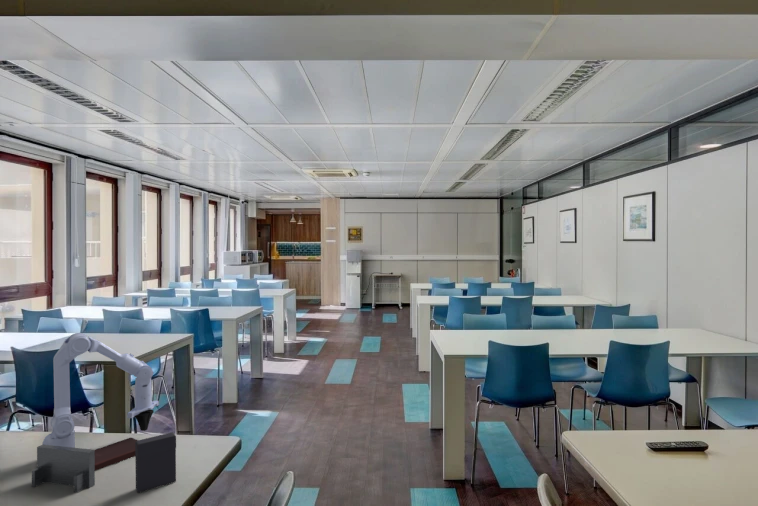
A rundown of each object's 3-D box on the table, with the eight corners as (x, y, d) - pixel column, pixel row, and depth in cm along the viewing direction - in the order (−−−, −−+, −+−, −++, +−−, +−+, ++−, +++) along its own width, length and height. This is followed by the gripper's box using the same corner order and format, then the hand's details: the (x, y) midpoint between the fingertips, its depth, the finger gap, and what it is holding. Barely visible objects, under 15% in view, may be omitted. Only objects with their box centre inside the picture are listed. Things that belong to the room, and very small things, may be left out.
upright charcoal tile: (173, 477, 147) (172, 431, 147) (176, 482, 143) (176, 435, 143) (135, 488, 140) (134, 440, 140) (137, 494, 136) (137, 444, 136)
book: (147, 453, 166) (147, 444, 166) (90, 474, 150) (90, 464, 150) (130, 445, 173) (130, 436, 173) (73, 465, 157) (73, 455, 157)
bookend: (28, 486, 142) (27, 451, 142) (43, 478, 147) (42, 444, 147) (81, 493, 138) (80, 456, 138) (94, 484, 142) (94, 449, 142)
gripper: (138, 401, 169) (139, 438, 169) (165, 390, 183) (165, 423, 183) (122, 400, 170) (122, 436, 170) (149, 389, 185) (150, 422, 185)
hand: (143, 430), depth 177 cm, fingers closed
